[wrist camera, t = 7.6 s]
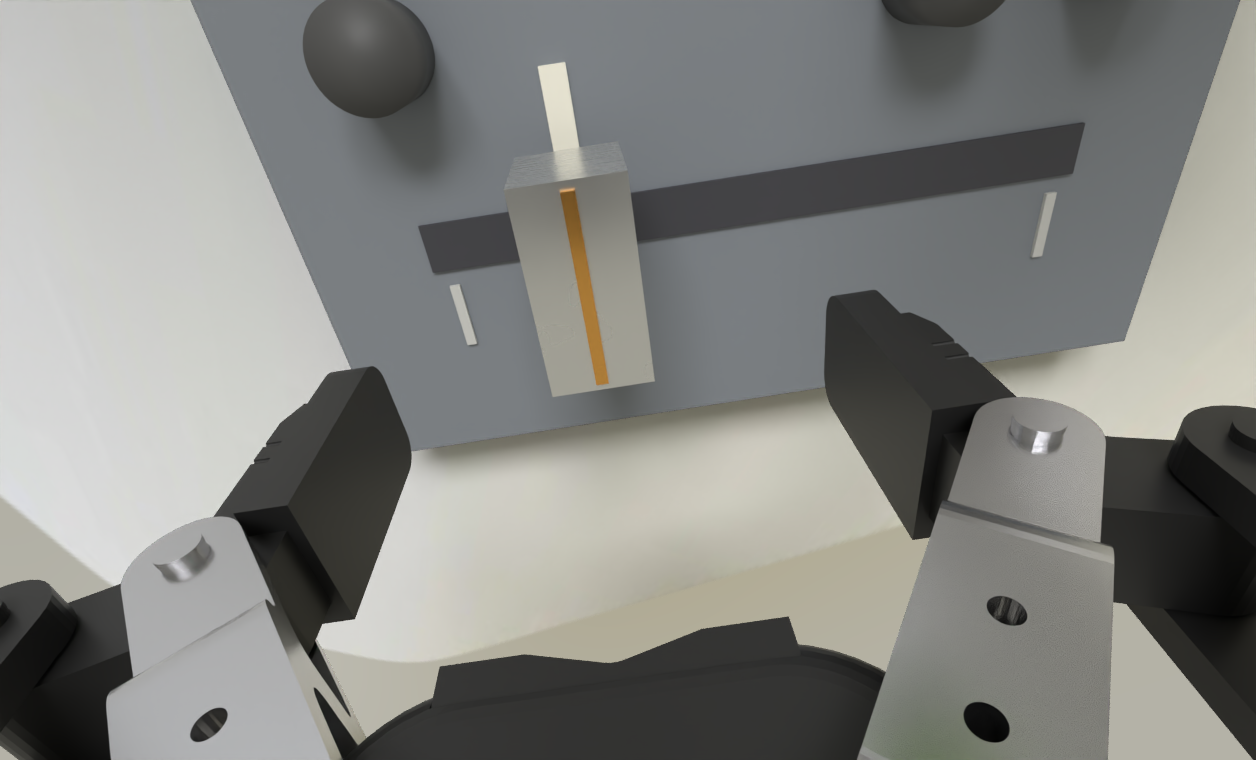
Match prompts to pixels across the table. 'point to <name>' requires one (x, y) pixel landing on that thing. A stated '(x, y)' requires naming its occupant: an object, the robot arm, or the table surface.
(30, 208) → the table surface
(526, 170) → the fader
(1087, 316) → the console
